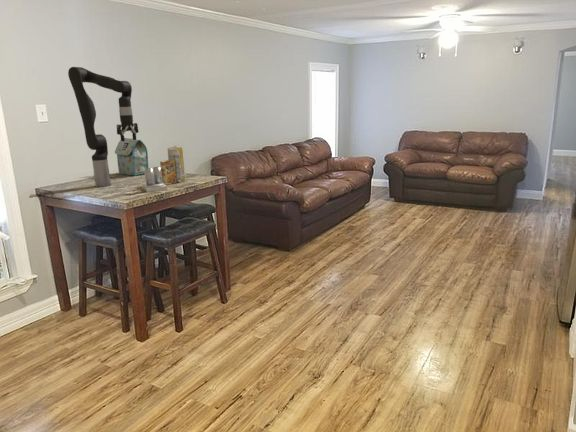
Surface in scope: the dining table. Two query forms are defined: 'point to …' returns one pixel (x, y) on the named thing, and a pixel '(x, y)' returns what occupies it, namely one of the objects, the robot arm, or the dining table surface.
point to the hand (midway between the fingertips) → (128, 140)
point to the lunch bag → (131, 157)
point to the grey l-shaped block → (154, 186)
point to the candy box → (168, 172)
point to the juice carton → (177, 162)
